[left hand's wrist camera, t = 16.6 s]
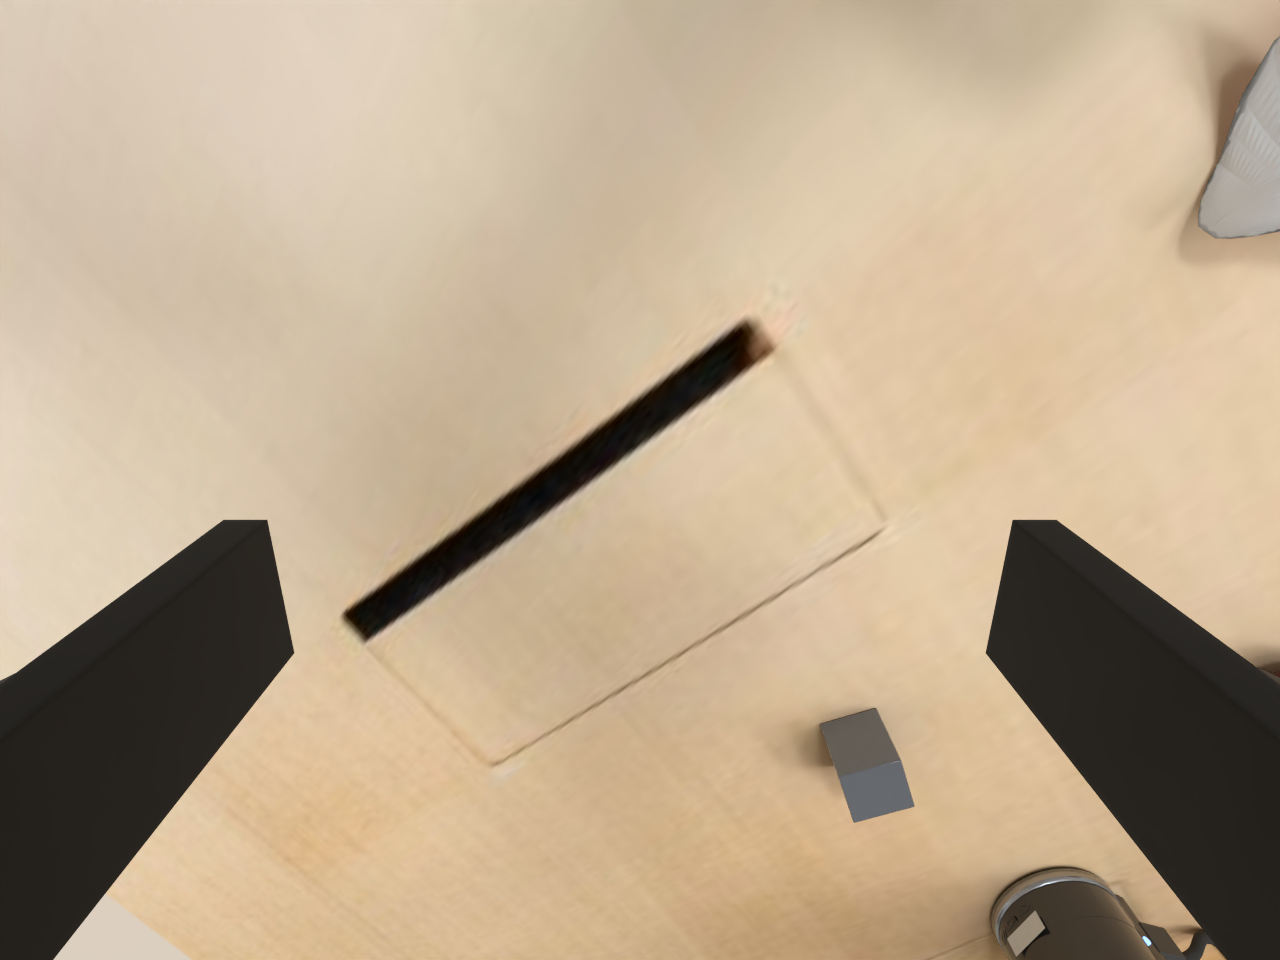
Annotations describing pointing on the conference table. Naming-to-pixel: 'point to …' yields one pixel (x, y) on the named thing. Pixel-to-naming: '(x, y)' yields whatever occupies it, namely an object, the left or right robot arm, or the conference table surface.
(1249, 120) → the fish
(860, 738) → the grey block
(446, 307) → the conference table surface
